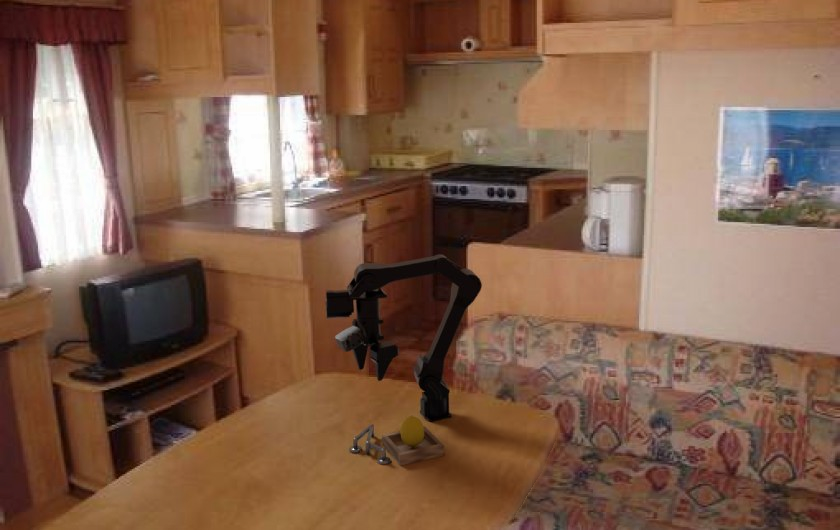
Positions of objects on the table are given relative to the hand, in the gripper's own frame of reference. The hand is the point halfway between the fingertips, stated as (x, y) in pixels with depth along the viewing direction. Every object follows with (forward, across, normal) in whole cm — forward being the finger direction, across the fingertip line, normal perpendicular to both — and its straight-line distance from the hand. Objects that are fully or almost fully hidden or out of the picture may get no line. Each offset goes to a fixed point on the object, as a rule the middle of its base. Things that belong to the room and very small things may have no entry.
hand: (370, 374), depth 196 cm
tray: (+12, +19, 0) cm, 23 cm away
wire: (+13, +14, -9) cm, 21 cm away
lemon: (+12, +19, 0) cm, 23 cm away
